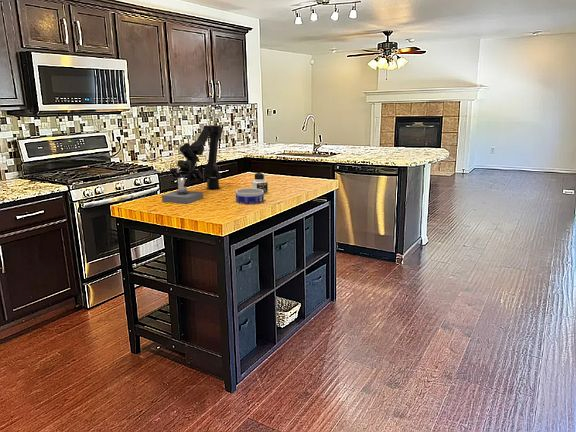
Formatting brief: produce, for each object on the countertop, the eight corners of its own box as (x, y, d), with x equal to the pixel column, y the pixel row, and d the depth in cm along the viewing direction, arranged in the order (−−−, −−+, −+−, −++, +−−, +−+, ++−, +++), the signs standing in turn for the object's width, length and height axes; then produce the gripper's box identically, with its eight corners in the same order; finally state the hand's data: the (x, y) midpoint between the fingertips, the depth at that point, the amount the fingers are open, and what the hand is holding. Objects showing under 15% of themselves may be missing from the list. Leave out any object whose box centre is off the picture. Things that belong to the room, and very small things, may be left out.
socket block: (178, 195, 256) (178, 190, 255) (203, 197, 251) (202, 191, 250) (162, 201, 241) (161, 195, 241) (187, 203, 236) (187, 197, 235)
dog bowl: (246, 197, 253) (246, 187, 251) (269, 200, 245) (269, 189, 244) (230, 202, 240) (229, 191, 239) (253, 205, 233) (253, 194, 231)
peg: (187, 196, 248) (186, 177, 245) (186, 198, 244) (185, 178, 241) (179, 196, 248) (178, 177, 245) (178, 198, 243) (177, 178, 241)
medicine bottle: (256, 194, 259) (256, 174, 256) (252, 192, 265) (251, 172, 262) (267, 193, 262) (267, 173, 259) (263, 191, 268) (262, 171, 265)
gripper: (169, 153, 246) (159, 176, 239) (199, 155, 240) (189, 178, 233) (178, 165, 256) (169, 188, 248) (207, 167, 249) (197, 190, 242)
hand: (180, 186), depth 243 cm, fingers closed on peg, 4 cm apart
